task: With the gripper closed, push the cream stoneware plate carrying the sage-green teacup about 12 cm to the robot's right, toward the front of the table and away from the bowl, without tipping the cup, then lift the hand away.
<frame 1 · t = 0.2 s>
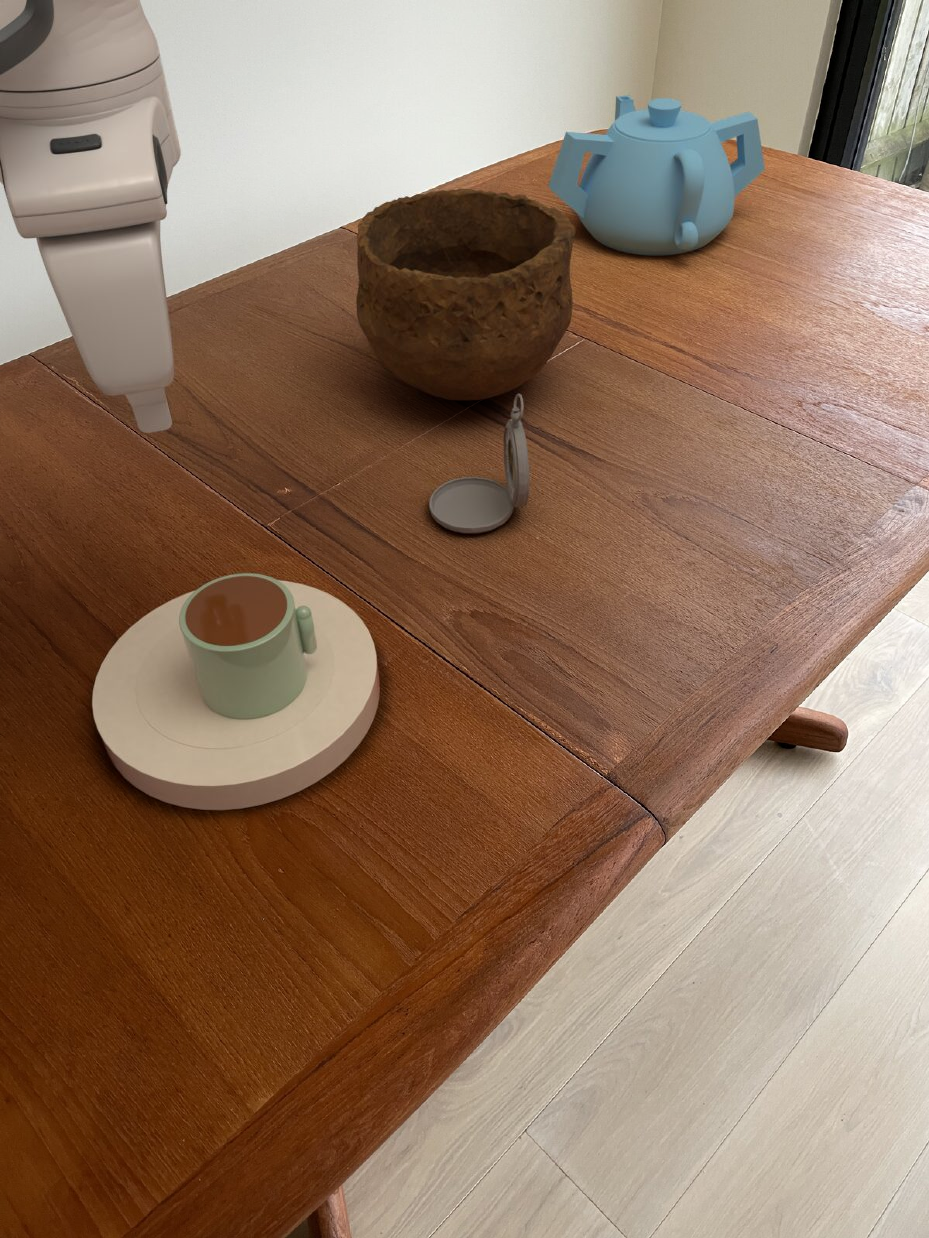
hand: (151, 382, 59), 19 cm above the table, tool pointing down, fingers open, 8 cm apart
pocket watch: (486, 513, 80), on the table
bowl: (468, 385, 94), on the table
teacup: (253, 679, 64), point 2 cm above the table, touching plate
teapot: (649, 228, 119), on the table
plate: (242, 697, 67), on the table, touching teacup
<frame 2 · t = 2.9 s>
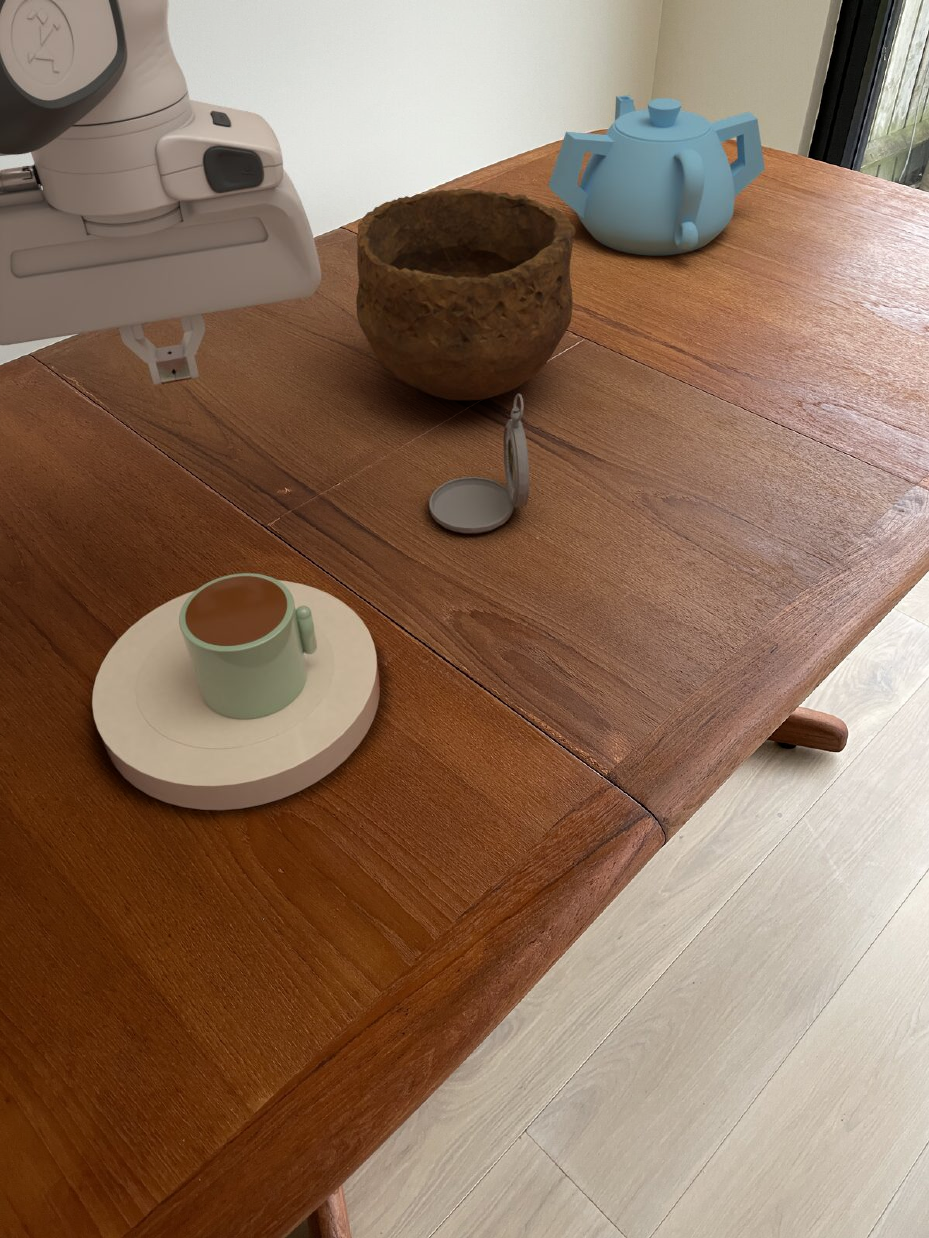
hand: (176, 377, 65), 16 cm above the table, tool pointing down, fingers closed
nothing on the table moved.
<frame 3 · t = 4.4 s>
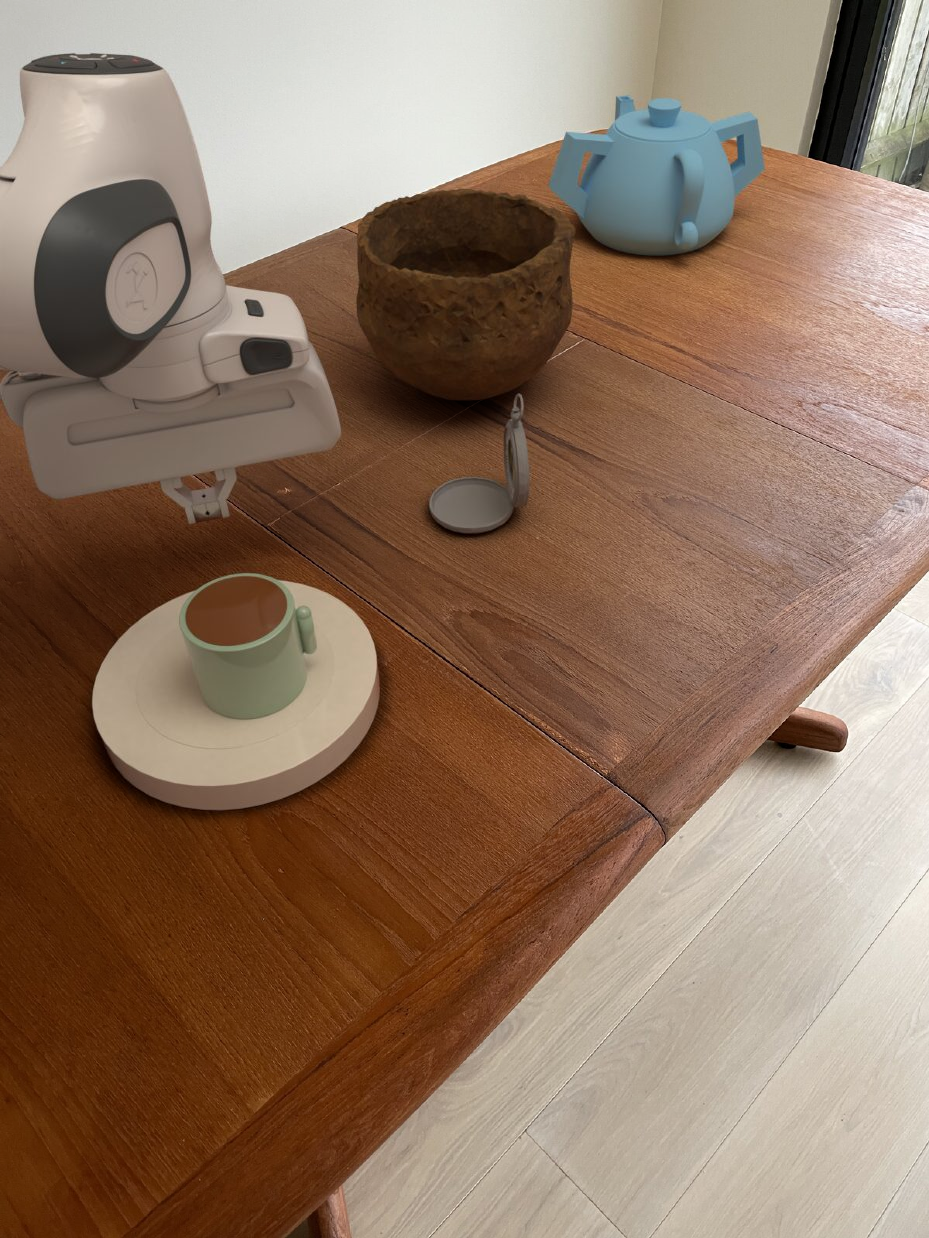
hand: (208, 516, 73), 5 cm above the table, tool pointing down, fingers closed
nothing on the table moved.
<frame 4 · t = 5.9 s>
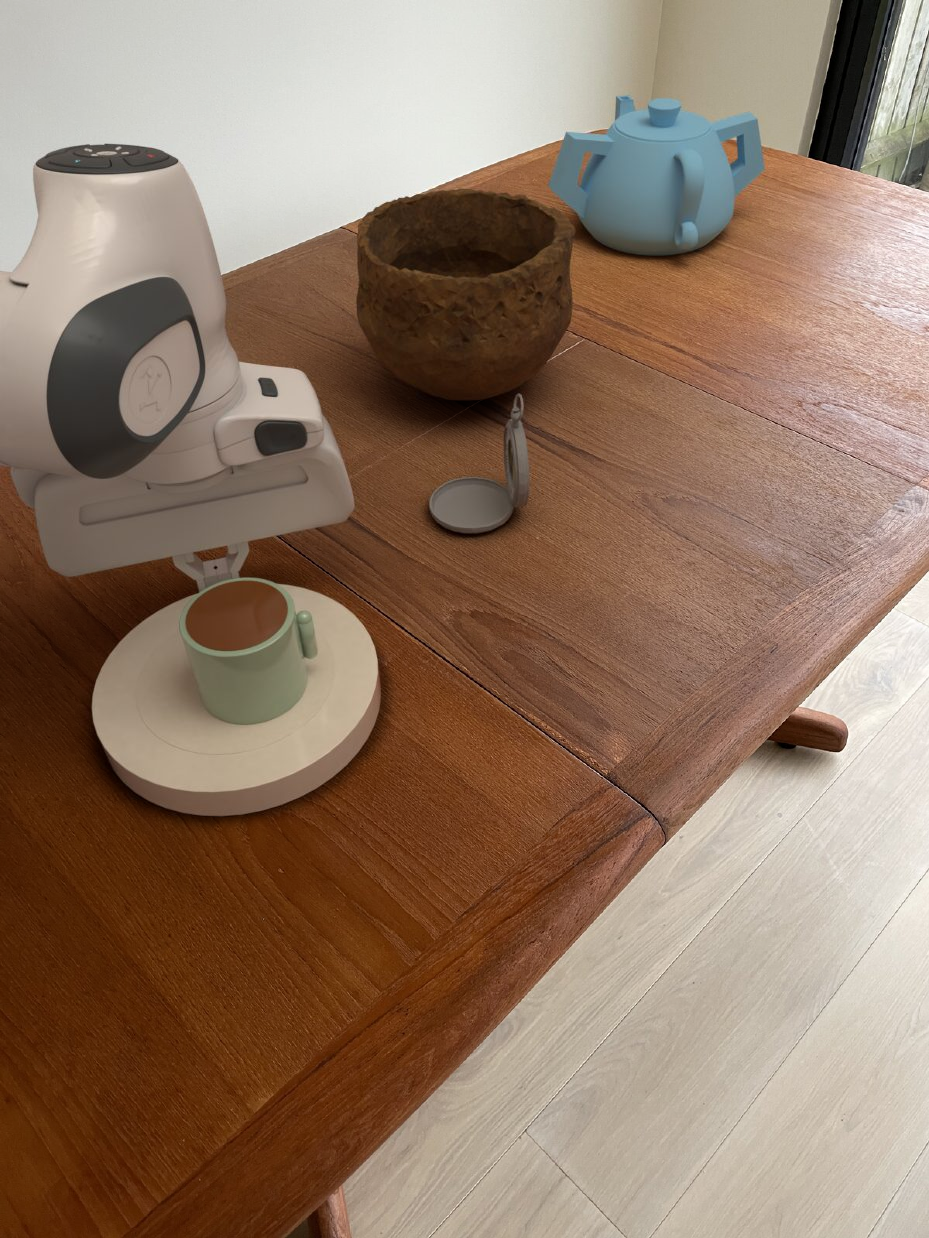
hand: (220, 586, 72), 2 cm above the table, tool pointing down, fingers closed, pressing on plate
plate: (243, 701, 66), on the table, touching gripper, teacup
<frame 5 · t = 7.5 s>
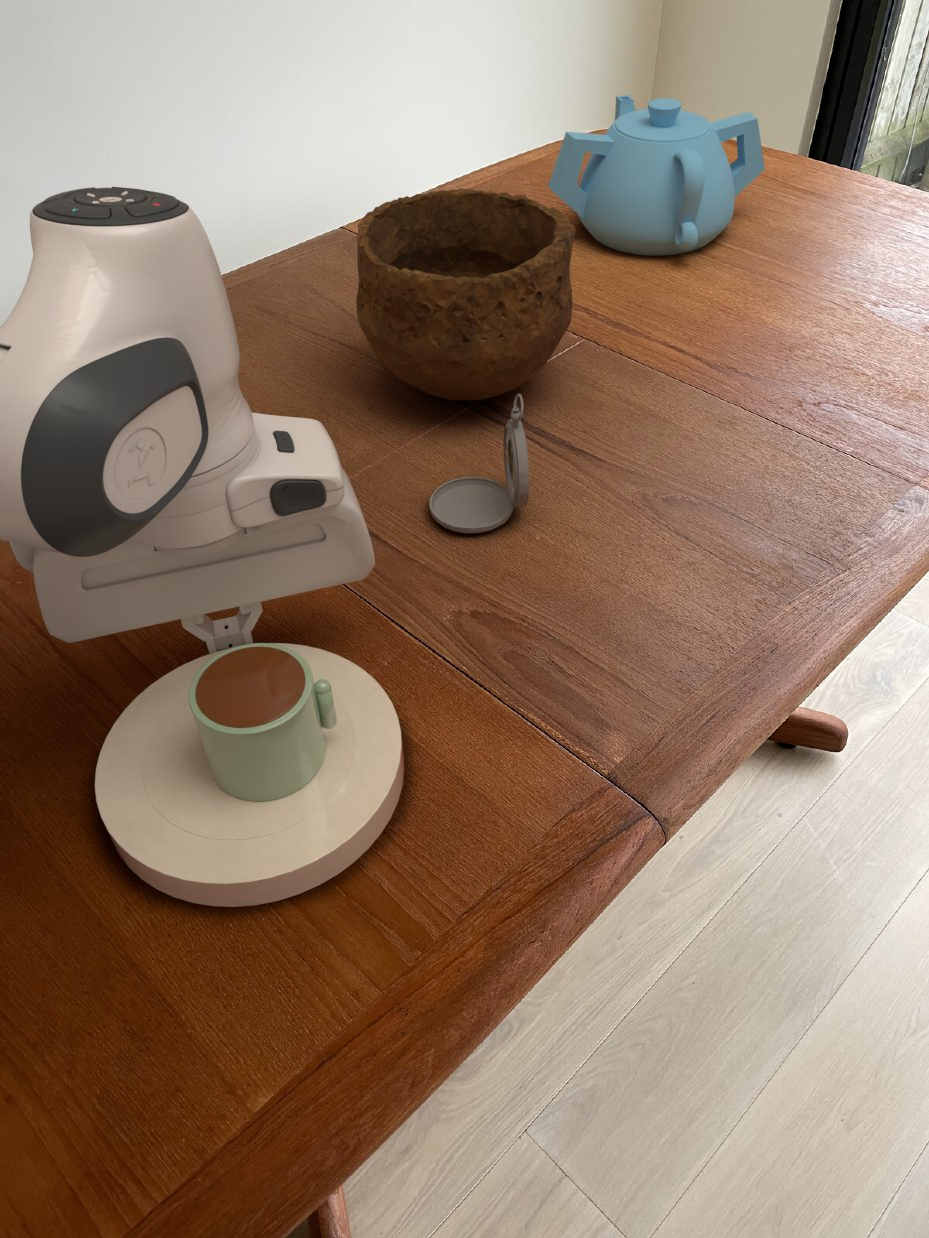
hand: (231, 646, 68), 2 cm above the table, tool pointing down, fingers closed, pressing on plate
teacup: (268, 754, 60), point 2 cm above the table, touching plate
plate: (256, 774, 62), on the table, touching gripper, teacup
everything else where it was.
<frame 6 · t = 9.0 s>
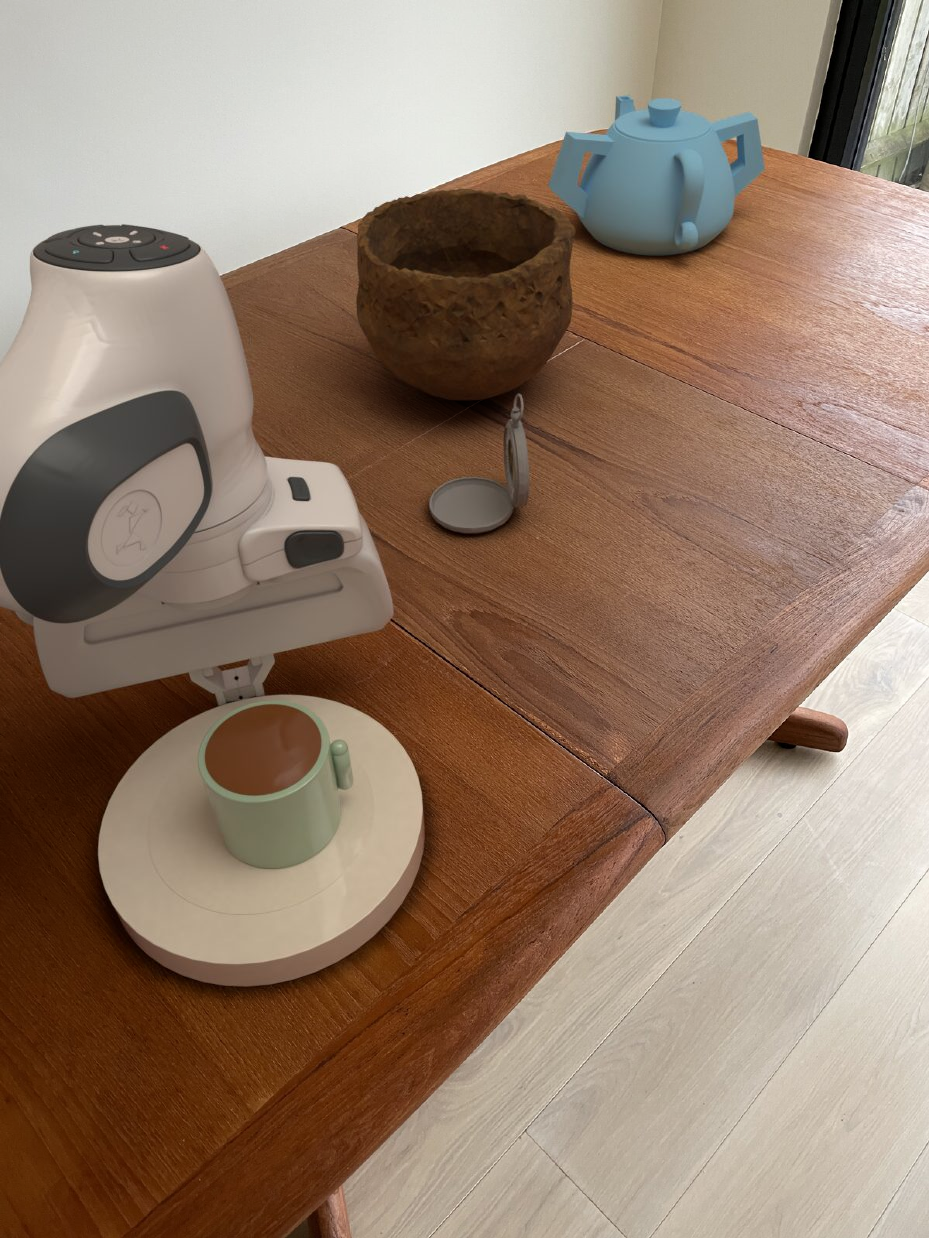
hand: (241, 697, 64), 2 cm above the table, tool pointing down, fingers closed, pressing on plate
teacup: (281, 816, 57), point 2 cm above the table, touching plate
plate: (269, 838, 59), on the table, touching gripper, teacup
everything else where it was.
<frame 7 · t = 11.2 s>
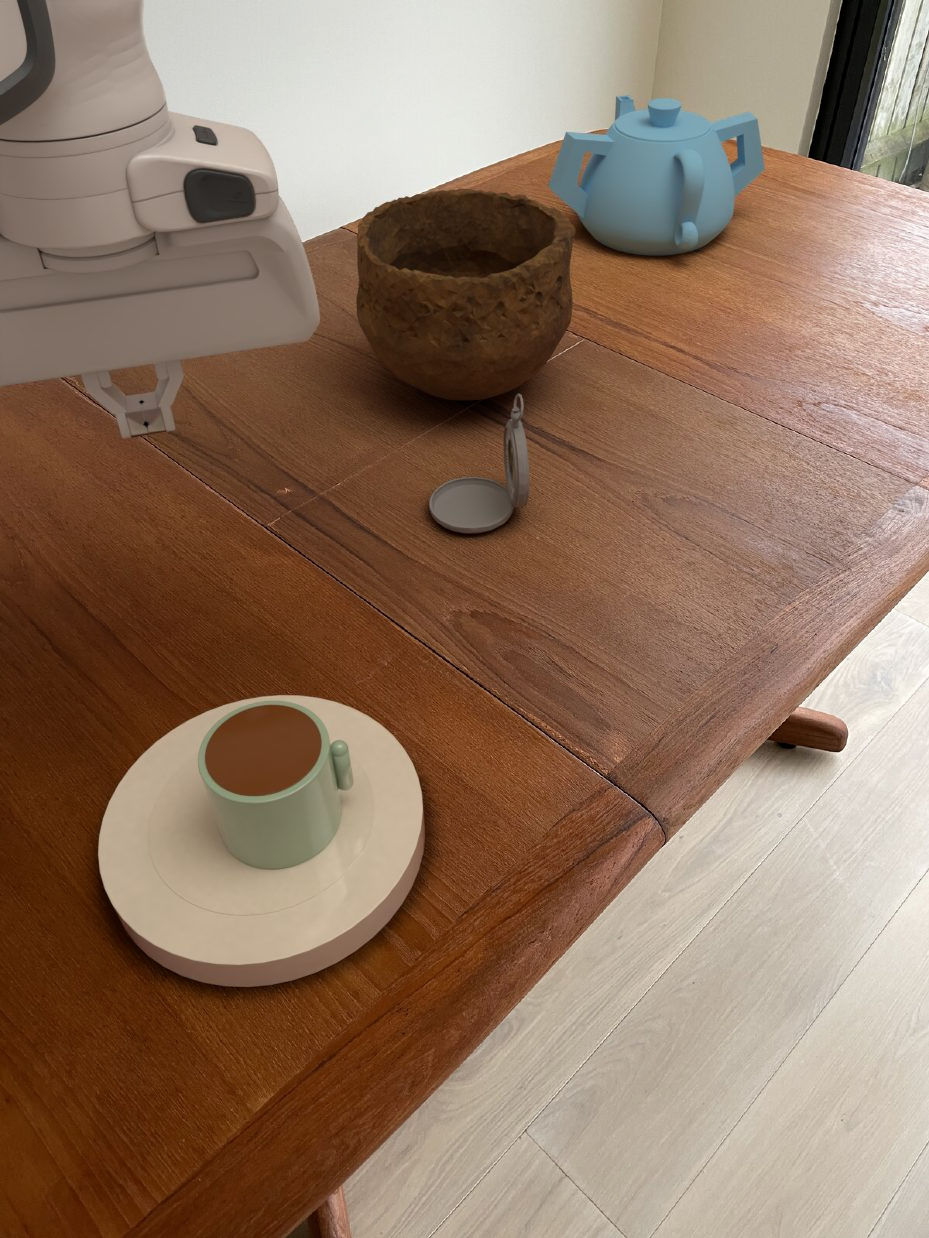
hand: (148, 429, 56), 18 cm above the table, tool pointing down, fingers closed
plate: (269, 838, 58), on the table, touching teacup
everything else where it was.
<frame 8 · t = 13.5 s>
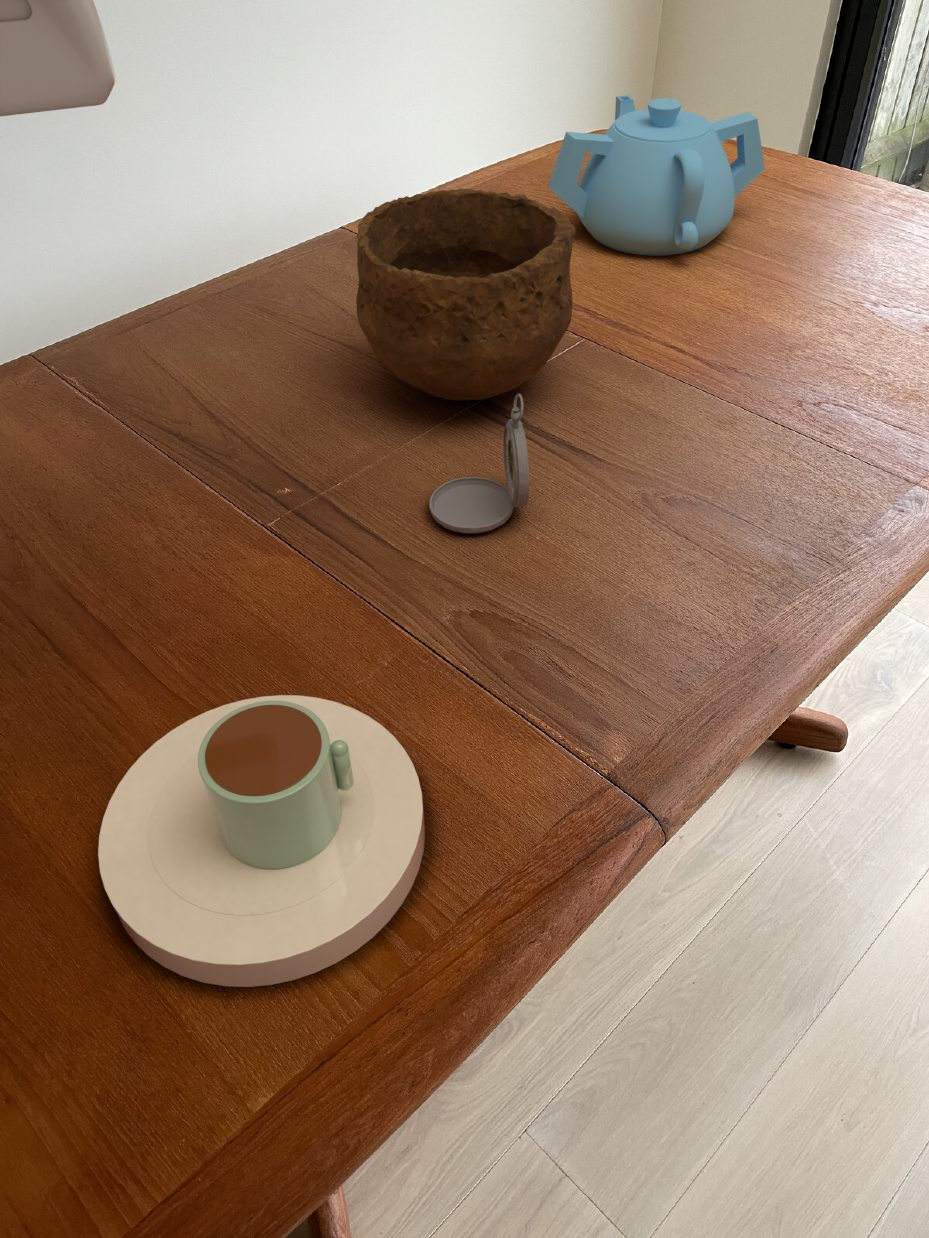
nothing on the table moved.
at the end: teacup inside the target area on the plate (1.1 cm from its centre), point 2.4 cm above the plate's base; teacup tilted 0° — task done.
